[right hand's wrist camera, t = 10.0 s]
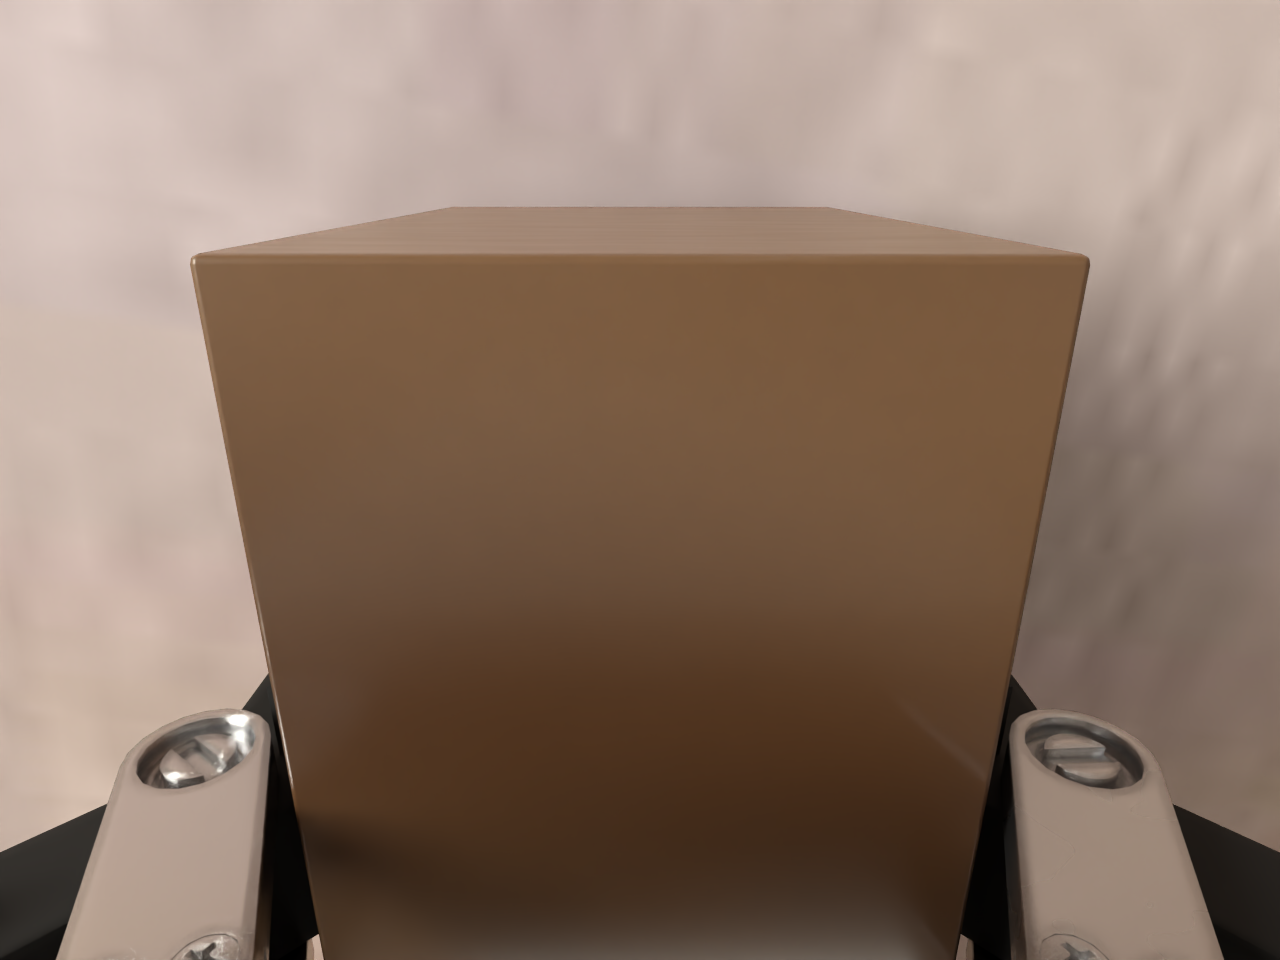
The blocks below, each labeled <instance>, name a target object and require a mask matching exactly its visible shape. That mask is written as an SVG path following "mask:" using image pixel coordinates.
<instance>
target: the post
mask: <svg viewBox="0 0 1280 960" xmlns="http://www.w3.org/2000/svg"><path fill="white" fill-rule="evenodd" d="M190 266H191V271H192V277H193V282H194V287H195V292H196V297H197V303H198V308H199V313H200V318H201V323H202V329H203V334H204V339H205V344H206V349H207V355H208V360H209V365H210V370H211V375H212V381H213V386H214V391H215V396H216V401H217V407H218V412H219V417H220V422H221V427H222V433H223V438H224V443H225V448H226V453H227V459H228V464H229V469H230V474H231V479H232V485H233V490H234V495H235V500H236V505H237V511H238V516H239V521H240V526H241V531H242V536H243V542H244V547H245V552H246V557H247V562H248V568H249V573H250V578H251V583H252V588H253V594H254V599H255V604H256V609H257V614H258V620H259V625H260V630H261V635H262V640H263V646H264V651H265V656H266V661H267V666H268V672H269V677H270V682H271V687H272V692H273V698H274V703H275V708H276V713H277V718H278V724H279V729H280V734H281V739H282V744H283V750H284V755H285V760H286V765H287V770H288V776H289V781H290V786H291V791H292V796H293V802H294V807H295V812H296V817H297V822H298V828H299V833H300V838H301V843H302V848H303V854H304V859H305V864H306V869H307V874H308V880H309V885H310V890H311V895H312V900H313V906H314V911H315V916H316V921H317V926H318V931H319V937H320V942H321V947H322V952H323V957H324V960H956V955H957V950H958V945H959V940H960V935H961V930H962V924H963V919H964V914H965V909H966V904H967V899H968V893H969V888H970V883H971V878H972V873H973V868H974V862H975V857H976V852H977V847H978V842H979V837H980V831H981V826H982V821H983V816H984V811H985V806H986V800H987V795H988V790H989V785H990V780H991V775H992V769H993V764H994V759H995V754H996V749H997V744H998V738H999V733H1000V728H1001V723H1002V718H1003V713H1004V707H1005V702H1006V697H1007V692H1008V687H1009V682H1010V676H1011V671H1012V666H1013V661H1014V656H1015V651H1016V645H1017V640H1018V635H1019V630H1020V625H1021V620H1022V614H1023V609H1024V604H1025V599H1026V594H1027V589H1028V583H1029V578H1030V573H1031V568H1032V563H1033V558H1034V552H1035V547H1036V542H1037V537H1038V532H1039V527H1040V521H1041V516H1042V511H1043V506H1044V501H1045V496H1046V490H1047V485H1048V480H1049V475H1050V470H1051V465H1052V459H1053V454H1054V449H1055V444H1056V439H1057V433H1058V428H1059V423H1060V418H1061V413H1062V408H1063V402H1064V397H1065V392H1066V387H1067V382H1068V377H1069V371H1070V366H1071V361H1072V356H1073V351H1074V346H1075V340H1076V335H1077V330H1078V325H1079V320H1080V315H1081V309H1082V304H1083V299H1084V294H1085V289H1086V284H1087V278H1088V273H1089V268H1090V261H1089V258H1088V257H1087V256H1084V255H1082V254H1079V253H1073V252H1068V251H1062V250H1057V249H1052V248H1046V247H1041V246H1035V245H1030V244H1024V243H1019V242H1014V241H1008V240H1003V239H997V238H992V237H986V236H981V235H976V234H970V233H965V232H959V231H954V230H948V229H943V228H937V227H932V226H927V225H921V224H916V223H910V222H905V221H899V220H894V219H889V218H883V217H878V216H872V215H867V214H861V213H856V212H851V211H845V210H840V209H834V208H829V207H450V208H445V209H439V210H434V211H428V212H423V213H417V214H412V215H407V216H401V217H396V218H390V219H385V220H379V221H374V222H368V223H363V224H357V225H352V226H346V227H341V228H336V229H330V230H325V231H319V232H314V233H308V234H303V235H297V236H292V237H286V238H281V239H276V240H270V241H265V242H259V243H254V244H248V245H243V246H237V247H232V248H226V249H221V250H216V251H210V252H205V253H199V254H197V255H195V256H193V257H192V258H191V263H190Z"/></svg>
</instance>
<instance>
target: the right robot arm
mask: <svg viewBox="0 0 1280 960" xmlns="http://www.w3.org/2000/svg"><path fill="white" fill-rule="evenodd" d="M317 934H319V931H318V926H317V921H316V916H315V911H314V906H313V900H312V895H311V890H310V885H309V880H308V874H307V869H306V864H305V859H304V854H303V848H302V843H301V838H300V833H299V828H298V822H297V817H296V812H295V807H294V802H293V796H292V791H291V786H290V781H289V776H288V770H287V765H286V760H285V755H284V750H283V744H282V739H281V734H280V729H279V724H278V718H277V713H276V708H275V703H274V698H273V692H272V687H271V682H270V677H269V673H268V675H267V676H266V678H265V679H264V680H263V682H262V683H261V684H260V686H259V687H258V688H257V690H256V691H255V693H254V694H253V695H252V697H251V698H250V699H249V701H248V702H247V703H246V705H245V706H244V707H243V709H242V710H237V709H220V710H212V711H204V712H201V713H197V714H194V715H190V716H186V717H183V718H181V719H178V720H176V721H174V722H172V723H169V724H167V725H165V726H162V727H161V728H159V729H157V730H156V731H154V732H153V733H151V734H150V735H148V736H147V737H145V738H143V739H142V740H141V741H140V742H139V743H138V744H137V745H136V746H135V747H134V748H133V749H132V750H131V751H130V752H128V754H127V756H126V757H125V759H124V761H123V762H122V764H121V766H120V768H119V771H118V774H117V777H116V780H115V783H114V786H113V789H112V792H111V795H110V798H109V801H108V804H106V805H103V806H101V807H99V808H97V809H95V810H92V811H90V812H88V813H86V814H84V815H81V816H79V817H77V818H75V819H73V820H70V821H68V822H66V823H64V824H62V825H59V826H57V827H55V828H53V829H51V830H48V831H46V832H44V833H42V834H40V835H37V836H35V837H33V838H31V839H29V840H26V841H24V842H22V843H20V844H18V845H16V846H13V847H11V848H9V849H7V850H5V851H2V852H0V960H314V947H313V942H312V938H313V937H314V936H316V935H317ZM961 934H962V935H964V936H965V937H967V938H968V942H967V947H966V960H1280V853H1279V852H1277V851H1275V850H1273V849H1271V848H1268V847H1266V846H1264V845H1262V844H1260V843H1257V842H1255V841H1253V840H1251V839H1249V838H1246V837H1244V836H1242V835H1240V834H1238V833H1235V832H1233V831H1231V830H1229V829H1227V828H1224V827H1222V826H1220V825H1218V824H1216V823H1213V822H1211V821H1209V820H1207V819H1205V818H1202V817H1200V816H1198V815H1196V814H1194V813H1191V812H1189V811H1187V810H1185V809H1183V808H1180V807H1178V806H1176V805H1174V804H1172V801H1171V798H1170V795H1169V792H1168V789H1167V786H1166V783H1165V780H1164V777H1163V774H1162V771H1161V768H1160V766H1159V764H1158V762H1157V761H1156V759H1155V757H1154V756H1153V754H1152V752H1150V751H1149V750H1148V749H1147V748H1146V747H1145V746H1144V745H1143V744H1142V743H1141V742H1140V741H1139V740H1138V739H1137V738H1135V737H1133V736H1132V735H1130V734H1129V733H1127V732H1126V731H1124V730H1123V729H1121V728H1119V727H1118V726H1115V725H1113V724H1111V723H1108V722H1106V721H1104V720H1102V719H1099V718H1097V717H1094V716H1090V715H1086V714H1083V713H1079V712H1076V711H1068V710H1060V709H1043V710H1037V708H1036V707H1035V706H1034V704H1033V703H1032V702H1031V700H1030V699H1029V698H1028V696H1027V695H1026V693H1025V692H1024V691H1023V689H1022V688H1021V687H1020V685H1019V684H1018V683H1017V681H1016V680H1015V678H1014V677H1013V676H1012V674H1011V676H1010V682H1009V687H1008V692H1007V697H1006V702H1005V707H1004V713H1003V718H1002V723H1001V728H1000V733H999V738H998V744H997V749H996V754H995V759H994V764H993V769H992V775H991V780H990V785H989V790H988V795H987V800H986V806H985V811H984V816H983V821H982V826H981V831H980V837H979V842H978V847H977V852H976V857H975V862H974V868H973V873H972V878H971V883H970V888H969V893H968V899H967V904H966V909H965V914H964V919H963V924H962V930H961Z"/></svg>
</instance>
